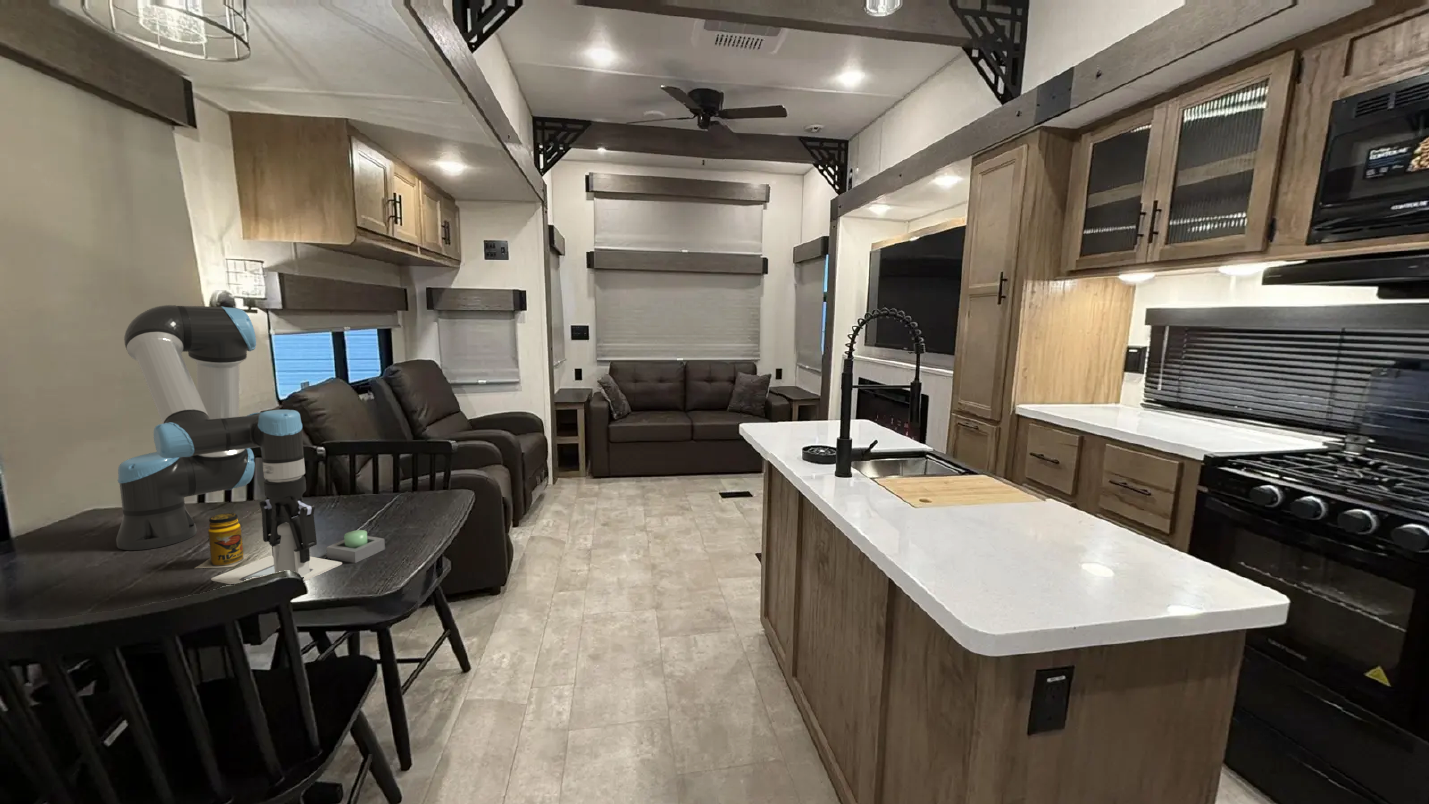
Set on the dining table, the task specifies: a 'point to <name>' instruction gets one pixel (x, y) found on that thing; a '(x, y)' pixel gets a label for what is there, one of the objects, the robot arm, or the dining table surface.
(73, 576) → the dining table surface
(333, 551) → the button housing
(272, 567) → the colouring board
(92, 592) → the dining table surface
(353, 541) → the button
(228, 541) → the condiment
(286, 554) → the salt shaker
